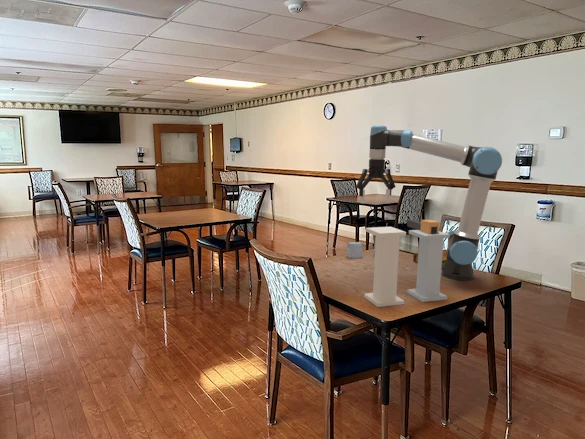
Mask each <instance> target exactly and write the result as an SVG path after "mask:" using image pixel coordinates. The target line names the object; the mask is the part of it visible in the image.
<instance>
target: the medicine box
mask: <svg viewBox="0 0 585 439" xmlns="http://www.w3.org/2000/svg"><path fill="white" fill-rule="evenodd" d="M363 250H364V244H363V243H362V242H360V241H356V242H355V241H354V242H353V241H352V242H347V250H346V253H347V254H346V258H348V259H349V258H352V259H362V258H363Z"/></svg>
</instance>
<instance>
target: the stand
mask: <svg viewBox="0 0 585 439" xmlns="http://www.w3.org/2000/svg"><path fill="white" fill-rule="evenodd" d="M365 232H367V233H369V234H371V235H373V236H375V238H376V242H375V241H374V250H375V251H374V252H375V256H374V264H373V265H374V266H373V284H372V285H373V287H372V292H368V293H363V294H364V295H363V297H364V299H366V300H367V301H369V302H370V303H372V304H373V305H374V306H375V307H377V308H380V307H389V306H401V305H404V304H405V301H404V299H402V298H401V297H399V296H398V295H397V293H398V292H397V290H398V276H399V275H398V274H399V273H398V272H399V258H400V256H399V255H400V241H401V237H406V236H407V232H406V231H404V230H402V229H399V228H395V227H394V226H387V227H386V226H378V227H377V226H375V227H373V226H372V227H365Z"/></svg>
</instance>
